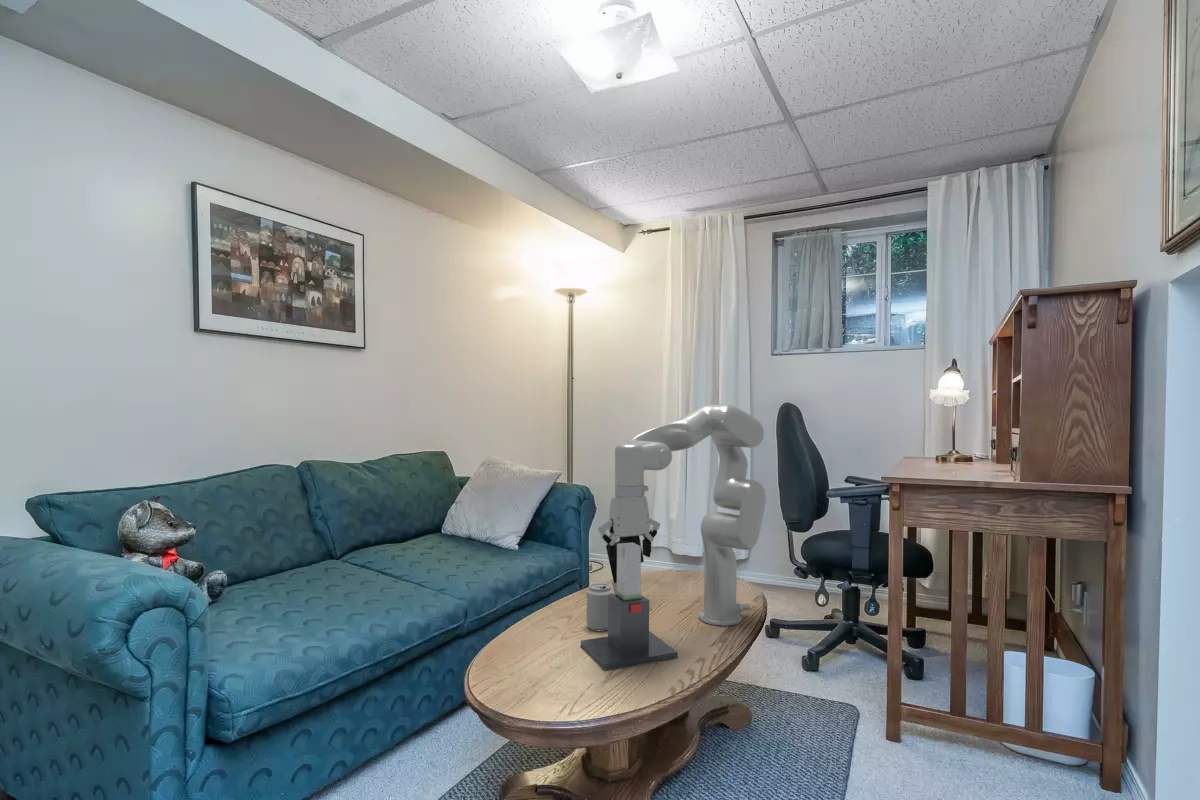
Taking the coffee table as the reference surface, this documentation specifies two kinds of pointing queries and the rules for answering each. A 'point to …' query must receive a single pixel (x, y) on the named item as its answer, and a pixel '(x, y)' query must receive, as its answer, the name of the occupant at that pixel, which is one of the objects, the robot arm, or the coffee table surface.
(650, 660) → the stand housing
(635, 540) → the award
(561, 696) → the coffee table surface
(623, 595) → the column
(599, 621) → the can
